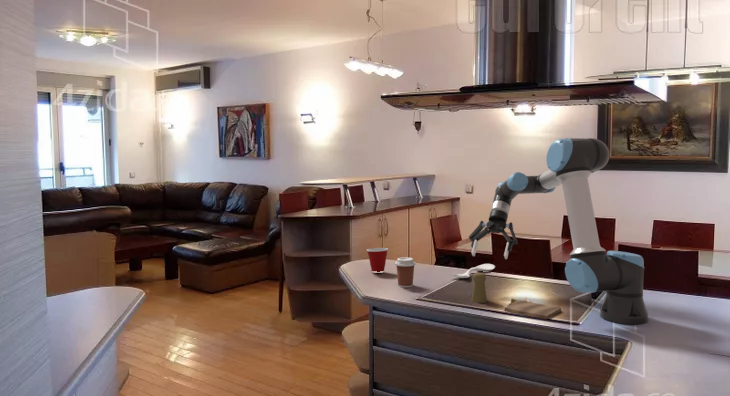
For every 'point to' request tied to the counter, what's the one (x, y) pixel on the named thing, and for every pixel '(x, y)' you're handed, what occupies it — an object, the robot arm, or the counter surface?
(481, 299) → the cork
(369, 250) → the plastic cup
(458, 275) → the spoon
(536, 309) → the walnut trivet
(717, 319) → the counter surface
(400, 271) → the coffee cup
